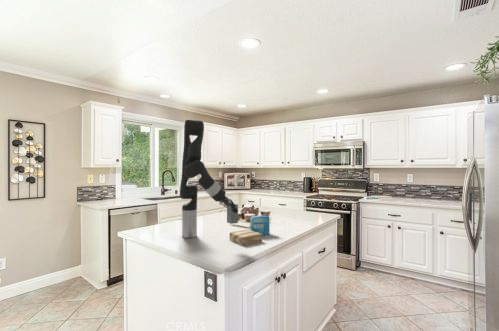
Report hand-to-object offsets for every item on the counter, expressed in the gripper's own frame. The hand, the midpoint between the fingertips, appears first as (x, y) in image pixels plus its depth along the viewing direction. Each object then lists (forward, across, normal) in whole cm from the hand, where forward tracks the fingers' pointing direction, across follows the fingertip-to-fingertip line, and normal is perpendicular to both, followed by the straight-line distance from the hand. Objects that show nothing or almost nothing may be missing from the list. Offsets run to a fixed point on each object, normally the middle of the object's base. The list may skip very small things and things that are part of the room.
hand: (234, 211), depth 148 cm
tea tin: (+3, 0, +5) cm, 6 cm away
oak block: (+23, +7, +6) cm, 24 cm away
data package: (+34, +15, -5) cm, 37 cm away
